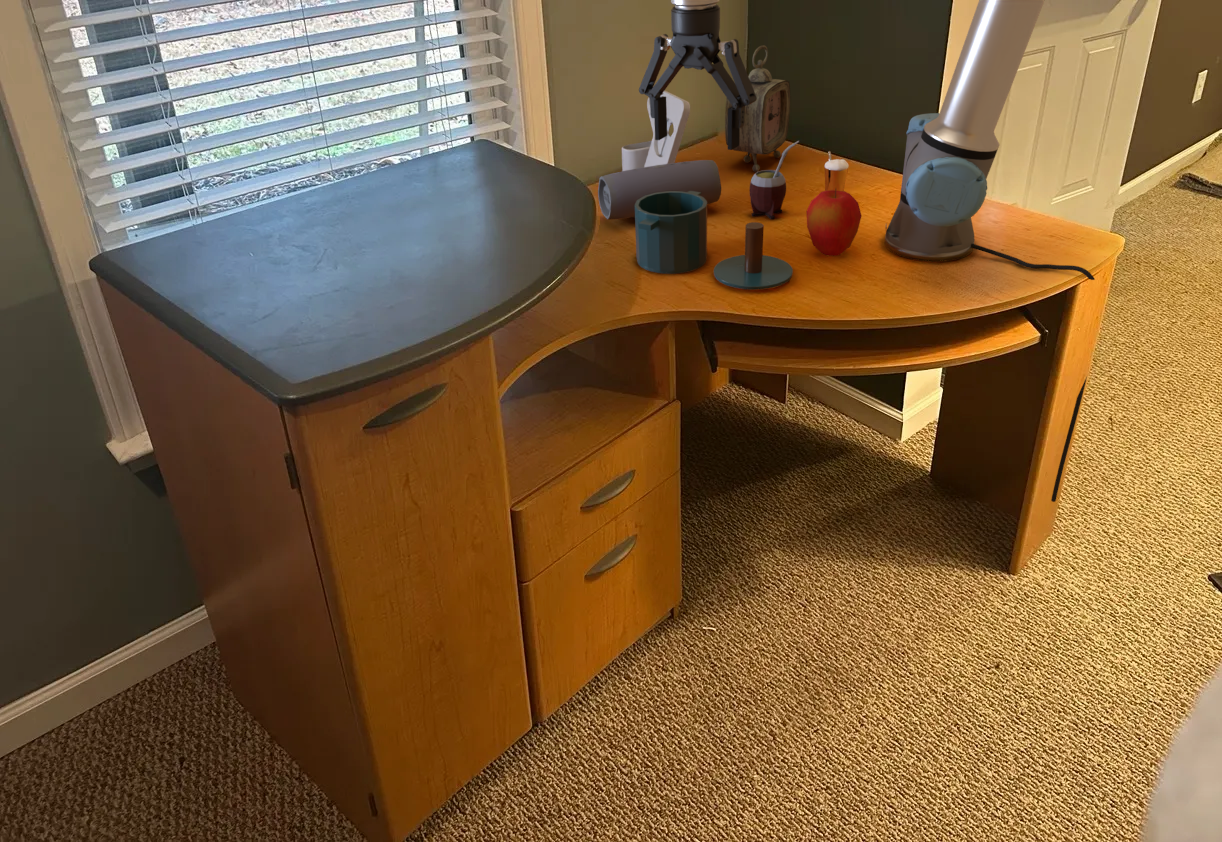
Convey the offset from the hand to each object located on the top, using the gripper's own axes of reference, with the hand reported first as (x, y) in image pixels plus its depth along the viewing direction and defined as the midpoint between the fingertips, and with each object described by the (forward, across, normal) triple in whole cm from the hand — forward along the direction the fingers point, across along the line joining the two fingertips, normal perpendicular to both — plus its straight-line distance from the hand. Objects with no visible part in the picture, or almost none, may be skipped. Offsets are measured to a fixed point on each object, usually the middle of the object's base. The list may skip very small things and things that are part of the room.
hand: (696, 142), depth 162 cm
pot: (+22, +5, 0) cm, 22 cm away
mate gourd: (+22, -1, -28) cm, 35 cm away
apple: (+22, -19, -15) cm, 33 cm away
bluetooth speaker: (+22, +18, -18) cm, 33 cm away
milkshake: (+22, -10, -38) cm, 45 cm away
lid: (+21, -11, 0) cm, 24 cm away
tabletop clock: (+22, +16, -55) cm, 61 cm away
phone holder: (+22, +30, -35) cm, 50 cm away
